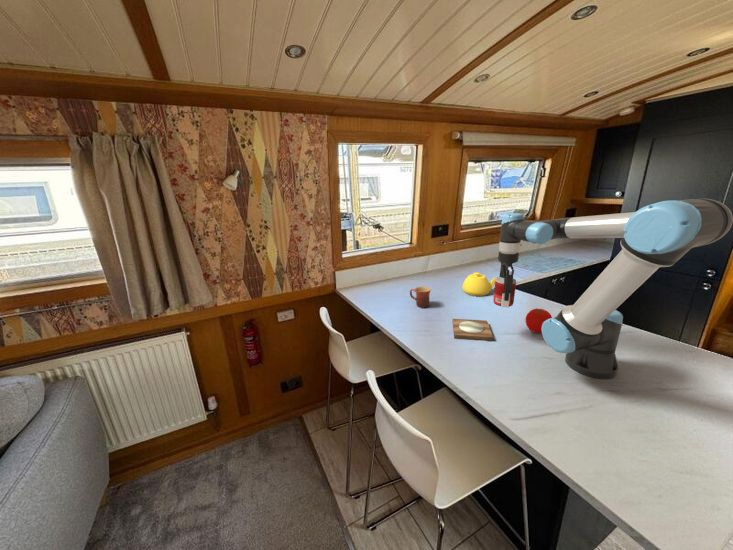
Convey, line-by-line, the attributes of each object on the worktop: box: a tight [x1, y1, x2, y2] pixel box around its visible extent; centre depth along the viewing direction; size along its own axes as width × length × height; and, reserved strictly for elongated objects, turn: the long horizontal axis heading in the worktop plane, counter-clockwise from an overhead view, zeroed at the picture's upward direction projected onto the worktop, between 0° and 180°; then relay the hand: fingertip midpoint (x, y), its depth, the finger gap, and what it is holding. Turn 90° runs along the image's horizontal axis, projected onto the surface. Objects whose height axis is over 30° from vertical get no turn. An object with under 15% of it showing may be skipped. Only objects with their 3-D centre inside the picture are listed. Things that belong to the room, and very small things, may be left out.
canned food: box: [492, 276, 517, 307], centre depth 122 cm, size 8×8×11 cm
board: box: [452, 318, 494, 342], centre depth 133 cm, size 16×16×2 cm
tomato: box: [525, 307, 553, 335], centre depth 128 cm, size 10×11×11 cm
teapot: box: [461, 272, 498, 297], centre depth 178 cm, size 20×19×13 cm
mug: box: [409, 286, 432, 309], centre depth 162 cm, size 12×9×10 cm
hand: (503, 302), depth 124 cm, fingers closed on canned food, 8 cm apart
